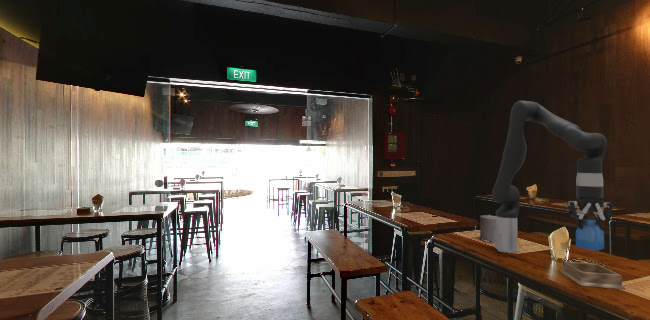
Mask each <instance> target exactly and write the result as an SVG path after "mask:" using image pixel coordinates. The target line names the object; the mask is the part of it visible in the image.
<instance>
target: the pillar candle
mask: <svg viewBox="0 0 650 320" xmlns="http://www.w3.org/2000/svg"><path fill="white" fill-rule="evenodd" d="M479 217H480V218H479V226H480V227H479V228H480V229H479V239H480V238H481V239H483V240H487V241H494V230H496V215H495V216H494V215H491V214H488V215H487V214H485V215H480V216H479Z"/></svg>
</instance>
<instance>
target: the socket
mask: <svg viewBox="0 0 650 320" xmlns="http://www.w3.org/2000/svg"><path fill="white" fill-rule="evenodd" d="M560 273H562V274H563V275H565V276H566V277H568V278H569V279H571V280H573V282H575V283H576V284H579V285H580V286H582V287H583V286H585V287H595V288H598V287H599V288H608V289H617V290H625V289H626V287H625V285H623V275H621V274H619V273H618V272H615V271H613V270H611V269H609V268H607V267H605V266H603V265H600V264H598V263H589V262H574V261H562V269H560Z"/></svg>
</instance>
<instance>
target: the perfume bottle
mask: <svg viewBox="0 0 650 320" xmlns="http://www.w3.org/2000/svg"><path fill="white" fill-rule="evenodd" d="M576 228H577V227H576ZM575 247H576V248H577V247H578V248H582V249H586V250H591V251H602V250H604V249H605V231H604V229H603V230H601V229H600V227H599V225H596V215H589V214H588V215H586V214H584V216H583V229H579V227H578V228H577V229H576V230H575Z"/></svg>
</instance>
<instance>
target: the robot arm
mask: <svg viewBox="0 0 650 320" xmlns="http://www.w3.org/2000/svg"><path fill="white" fill-rule="evenodd" d="M525 122H533V123H537V124H539V125H542V126H543V127H545V129H546V130H547V131H548V132H549V133H551V134H553V135H554V136H556V137H557V138H559V139H562V140H563V141H564V142H566V144H568V145H569V146H570V147H571V148H573V149H575V150H577V151H579V152H585V153H584V156H583V157H580V158H579V159H577V161H576V166H577V167H576V169H577V170H576V179H575V180H576V182H575V184H576V189H575V190H576V193H575V194H576V199H575V201H574V200H573V201H571V200H568V201H567V202H566V205H567V209H568V214H569V216H570V217H573V218H574V219H575V227H576V228H578V227H579V229H583V224H584V215H586V214H587V213H588V212H589V213H591V212H593V214H594V216H595V220H596V223H595V225H599V227H600V229H601V230H603V231H604V229H605V220H608V219H609V220H610V219H611V218H612V213H613V209H614V203H612V202H608V201H607V202H606V201H605V200H604V177H603V160H604V158H605V155H606V153H607V148H608V140H607V138H606V136H605V135H603V134H602V133H599V132H586V131H583V130H582V128H581V127H580V126H579V125H577V124H575V123H573V122H571V121H568V120H566V119H564V118H562V117H560V116H558V115H556V114H554V113H553V112H550V111H549V110H548V109H547V108H545V107H544V106H543V105H541V104H540V103H538V102H536V101H530V100H518V101H516V102H515V103H513V106H512V107H511V110H510V116H509V124H508V129H507V130H508V131H507V135H506V142H505V146H504V149H503V153H502V158H501V163H500V167H499V171H498V173H497V178H496V180H495V182H494V185H493V188H492V192H491V194H492V199H493V200H494V201H495V203H496V204H499V205H501V206H500V207H499V208H498V209H496V211H495V216H496V230H494V242H495V243H494V249H495V248H496V249H497V250H496V249H495V250H496V251H498V252H501V253H506V252H507V254H517V253H518V215H519V212H520V206H521V205H520V204H521V203H520V202H521V196H520V195H521V194H520V190H519V189H518V188H517V187H516V186H515V185H512V181H513V178H514V177H515V175H516V174H517V172H518V171H519V170H520V169H521V167H523V164H524V162H525V160H526V156H527V151H528V146H527V145H528V144H527V143H526V142H527V141H526V140H525V136H524V127H525ZM577 206H578V207H577ZM576 207H577V209H576ZM602 207H603V210H602ZM596 218H597V219H596Z"/></svg>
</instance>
